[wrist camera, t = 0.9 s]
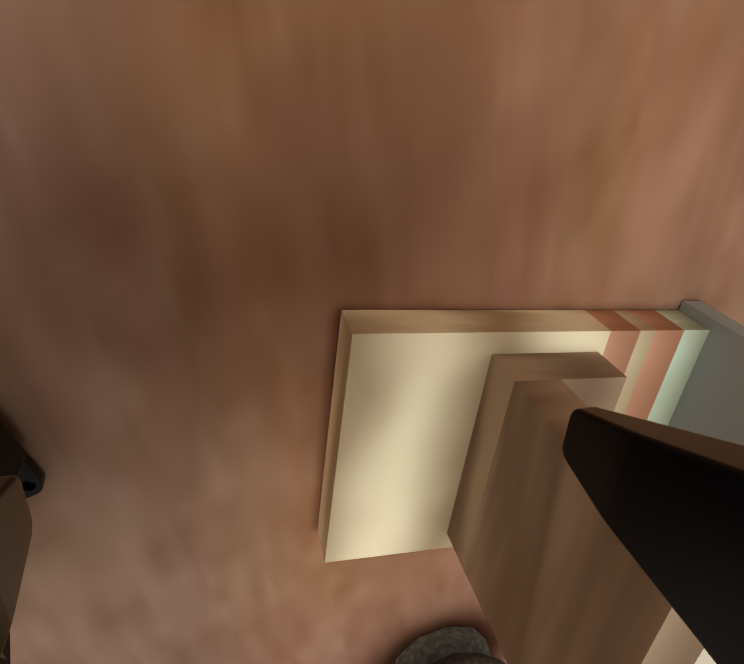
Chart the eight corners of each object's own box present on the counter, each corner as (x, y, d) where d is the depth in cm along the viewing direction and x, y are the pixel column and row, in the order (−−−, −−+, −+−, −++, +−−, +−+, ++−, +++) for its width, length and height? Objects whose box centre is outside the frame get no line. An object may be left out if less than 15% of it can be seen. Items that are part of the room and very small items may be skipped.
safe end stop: (599, 505, 33) (670, 595, 28) (682, 300, 27) (792, 367, 22) (613, 504, 33) (687, 592, 28) (699, 300, 27) (812, 366, 22)
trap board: (317, 529, 28) (324, 562, 27) (341, 310, 23) (352, 333, 21) (601, 499, 33) (623, 525, 31) (678, 310, 27) (709, 329, 26)
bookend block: (446, 533, 28) (569, 796, 19) (492, 354, 23) (684, 584, 14) (538, 522, 29) (694, 762, 20) (597, 351, 25) (837, 559, 15)
